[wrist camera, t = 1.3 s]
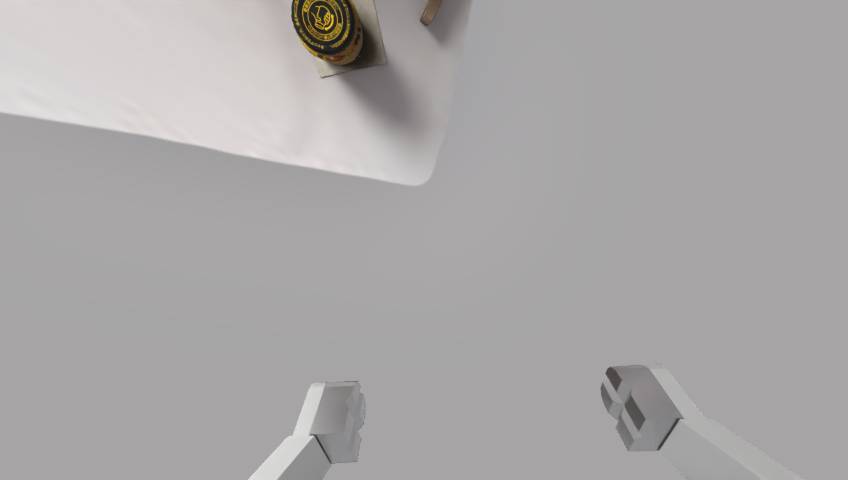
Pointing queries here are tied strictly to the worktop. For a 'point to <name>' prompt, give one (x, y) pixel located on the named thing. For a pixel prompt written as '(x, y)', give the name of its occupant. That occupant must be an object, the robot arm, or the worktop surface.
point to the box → (430, 11)
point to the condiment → (339, 34)
